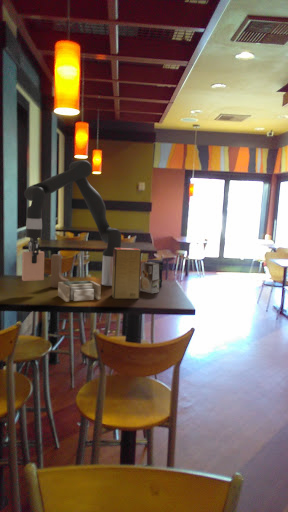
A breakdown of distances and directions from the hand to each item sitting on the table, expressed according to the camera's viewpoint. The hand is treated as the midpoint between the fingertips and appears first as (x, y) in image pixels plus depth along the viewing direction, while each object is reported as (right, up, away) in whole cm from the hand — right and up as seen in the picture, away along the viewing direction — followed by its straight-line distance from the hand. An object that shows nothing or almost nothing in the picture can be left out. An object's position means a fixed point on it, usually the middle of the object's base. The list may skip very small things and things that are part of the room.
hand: (33, 262), depth 195 cm
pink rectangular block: (-1, -9, +1) cm, 9 cm away
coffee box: (+58, -17, +24) cm, 65 cm away
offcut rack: (+22, -17, +1) cm, 28 cm away
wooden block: (+8, -14, +23) cm, 28 cm away
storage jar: (+61, -15, +42) cm, 75 cm away
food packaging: (+45, -18, +8) cm, 49 cm away
